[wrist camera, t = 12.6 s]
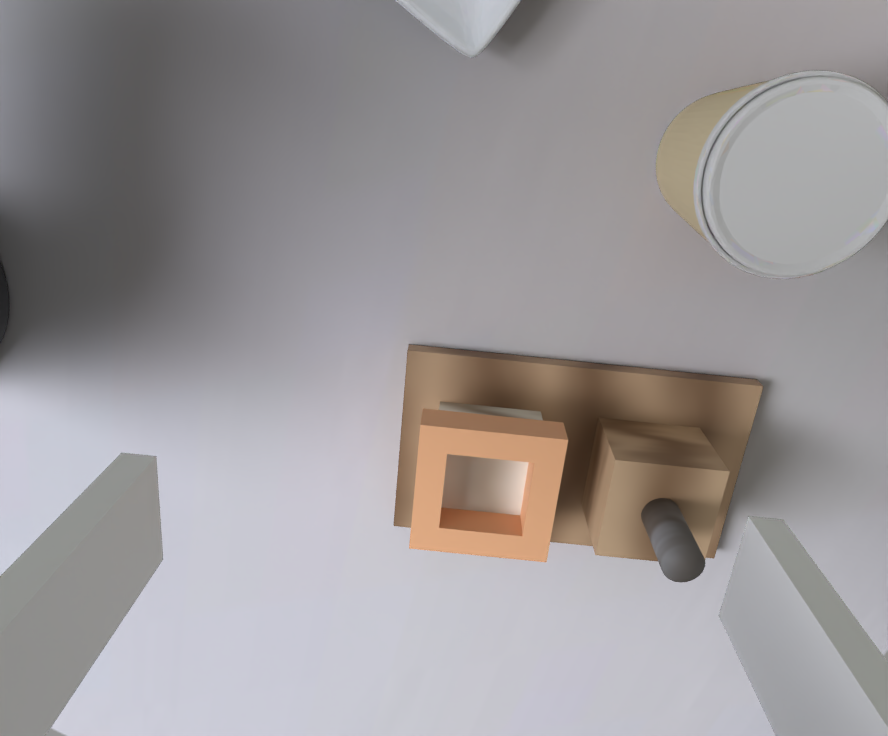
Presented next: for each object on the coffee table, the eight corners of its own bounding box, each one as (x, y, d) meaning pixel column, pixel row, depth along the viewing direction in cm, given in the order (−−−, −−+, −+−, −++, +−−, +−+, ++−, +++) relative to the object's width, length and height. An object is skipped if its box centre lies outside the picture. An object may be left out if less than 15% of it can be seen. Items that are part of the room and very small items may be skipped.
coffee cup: (774, 242, 44) (876, 292, 33) (628, 228, 44) (681, 273, 33) (816, 84, 41) (946, 80, 30) (657, 69, 41) (728, 59, 30)
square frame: (412, 527, 47) (409, 548, 45) (422, 408, 44) (420, 424, 42) (542, 540, 47) (546, 562, 45) (563, 422, 44) (568, 440, 42)
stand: (395, 516, 53) (374, 632, 41) (409, 344, 48) (389, 422, 36) (708, 548, 53) (773, 672, 41) (756, 379, 48) (845, 468, 36)
